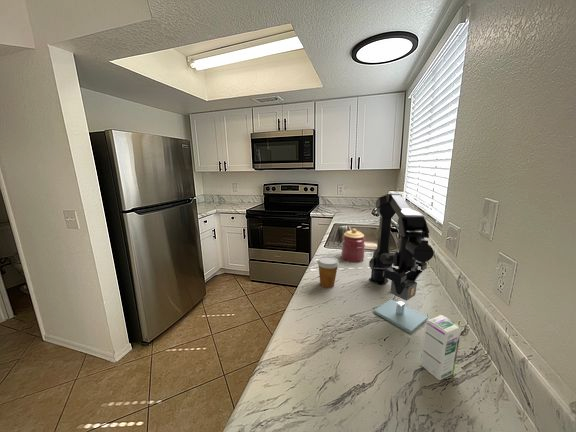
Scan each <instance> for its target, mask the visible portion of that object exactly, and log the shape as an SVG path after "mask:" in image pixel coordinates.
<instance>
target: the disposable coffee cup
mask: <svg viewBox="0 0 576 432" xmlns="http://www.w3.org/2000/svg"><path fill="white" fill-rule="evenodd" d="M316 263H317V266H318V273H319V284H320V286H321V287H323V288H327V289H329V288H333V287H334V286H335V283H336V277H337V270H338V267H339V264H340V262H339V259H338V258H336V257H333V256H331V255H330V256H329V255H328V256H327V255H324V256H320V257H319V258H318V259H317V262H316Z"/></svg>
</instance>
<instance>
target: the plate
mask: <svg viewBox="0 0 576 432" xmlns="http://www.w3.org/2000/svg"><path fill="white" fill-rule="evenodd" d="M397 302H398V301H396V300H395V299H389V300H388V301H386V302H384V303H383V304H381V305H379V306H378V307H376V308H374V309H373V313H374V314H375V315H378V316H379V317H381V318H383V319H384V320H386V321H388V322H390V323H392V324H393V325H395V326H397V327H398V328H400V329H401V330H404V331H406V332H408V333H409V334H412V333H414V332H415V331H416V330H417V329H418V328H419V327H421V326H422V325H423V324H424V323H426V320H428V319H429V317H428V316H427V315H425V314H423V313H421V312H419V311H417V310H415V309H413V308H410V307H409V306H406V305H405V308H404V313H403V314H402V315H398V314H396V306H397Z"/></svg>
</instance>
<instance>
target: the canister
mask: <svg viewBox="0 0 576 432" xmlns="http://www.w3.org/2000/svg"><path fill="white" fill-rule="evenodd" d="M341 239H342V242H341V253H340V256H341V258H342V259H343V260H344V259H345V260H344V261H347V260H348V261H347V262H351V261H353V262H352V263H357V262H358V263H359V262H362V261H363V260H364V258H365V249H366V248H365V247H366V244H365V241H366V238H365V234H364V233H362V232H361V231H359V230H357V229H356V228H352V229H351V230H347V231H346V232H344V233H343V236H342V237H341Z"/></svg>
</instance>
